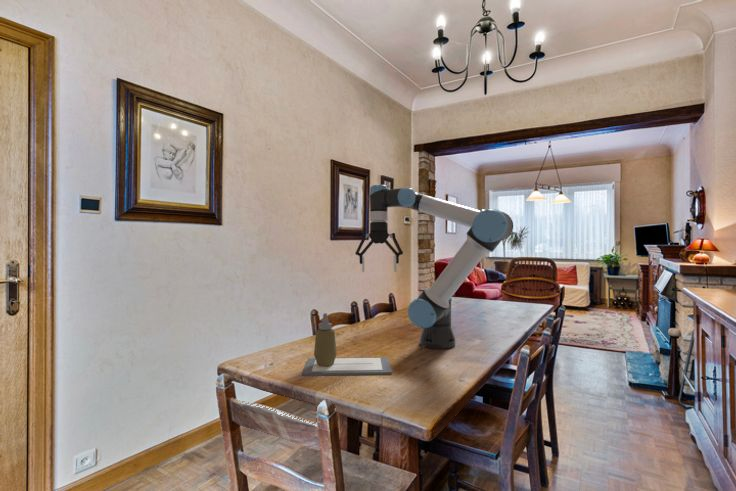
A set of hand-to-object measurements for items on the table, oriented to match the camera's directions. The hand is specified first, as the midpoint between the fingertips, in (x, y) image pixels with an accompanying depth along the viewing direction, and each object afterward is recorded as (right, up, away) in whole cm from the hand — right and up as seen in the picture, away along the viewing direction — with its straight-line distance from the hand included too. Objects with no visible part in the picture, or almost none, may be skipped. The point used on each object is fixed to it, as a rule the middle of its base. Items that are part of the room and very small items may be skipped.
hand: (379, 271), depth 165 cm
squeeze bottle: (-20, -31, -27) cm, 46 cm away
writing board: (-12, -32, -27) cm, 44 cm away
